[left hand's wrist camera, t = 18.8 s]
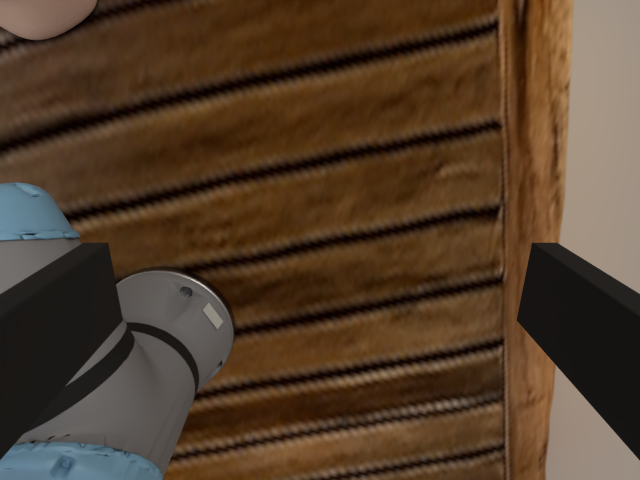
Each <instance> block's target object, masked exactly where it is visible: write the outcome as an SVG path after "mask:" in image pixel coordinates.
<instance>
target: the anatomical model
mask: <svg viewBox="0 0 640 480" xmlns="http://www.w3.org/2000/svg"><path fill="white" fill-rule="evenodd" d="M96 3H97V0H0V26H1V27H3V28H4V29H6V30H8V31H9V32H11V33H13V34H15V35H17V36H20V37H22V38H26V39H31V40H43V39H48V38H52V37H55V36H58V35H60V34H62V33H64V32H66V31H68V30H69V29H71V28H73V27H74V26H76V25H77V24H79V23H80V22H82V21H83V20H84V19H85V18H86V17H87V16H89V14H90V13H91V12H92V11H93V10H94V8H95V6H96Z"/></svg>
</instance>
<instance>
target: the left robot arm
mask: <svg viewBox="0 0 640 480" xmlns="http://www.w3.org/2000/svg"><path fill="white" fill-rule="evenodd" d="M79 238H80V234H79V233H78V232H77V231H74V230H73V228H72V227H71V225H70V224H69V222H68V221H67V219H66V218H65V216H64V215H63V213H62V212H61V210H60V209H59V207H58V205H57V204H56V202H55V201H54V199H53V198H52V197H51V196H50V194H48V193H47V192H46V191H45V190H43V189H42V188H40V187H37V186H35V185H31V184H27V183H4V184H0V480H163V477H164V474H165V471H166V469H167V466H168V464H169V461H170V459H171V456H172V454H173V451H174V449H175V446H176V443H177V441H178V438H179V436H180V433H181V431H182V428H183V426H184V423H185V421H186V418H187V416H188V413H189V410H190V408H191V405H192V403H193V400H194V398H195V395H196V393H197V392H198V391H199V390H200V389H202V388H203V387H204V386H205V385H206V384H207V383H208V382H209V381H210V379H211V378H213V377H214V376H215V375H216V374H217V373H218V372H219V371H220V369H221V368H222V367H223V365H224V364H225V362H226V360H227V359H228V357H229V355H230V352H231V349H232V346H233V343H234V339H235V321H234V317H233V314H232V311H231V309H230V306H229V305H228V303H227V301H226V300H225V298H224V297H223V295H222V294H221V293H220V292H219V291H218V290H217V289H216V288H215V287H214V286H213V285H211V284H210V283H209V282H208V281H206V280H205V279H203V278H201V277H199V276H198V275H196V274H193V273H191V272H188V271H185V270H182V269H178V268H172V267H150V268H145V269H142V270H138V271H136V272H134V273H131V274H130V275H128V276H126V277H125V278H123V279H122V280H121V281H120V282H119V283H118V284H116V282H115V276H114V271H113V266H112V261H111V256H110V251H109V246H108V243H82V244H81V242H80V240H79ZM517 321H518V322H519V323H520V325H521V326H522V327H523V328H524V329H525V330H526V331H527V332H528V334H529V335H530V336H531V337H532V338H533V339H534V340H535V342H536V343H537V344H538V345H539V346H540V347H541V348H542V350H543V351H544V352H545V353H546V354H547V355H548V356H549V358H550V359H551V360H552V361H553V362H554V363H555V364H556V365H557V367H558V368H559V369H560V370H561V371H562V372H563V373H564V375H565V376H566V377H567V378H568V379H569V380H570V381H571V383H572V384H573V385H574V386H575V387H576V388H577V389H578V390H579V392H580V393H581V394H582V395H583V396H584V397H585V399H586V400H587V401H588V402H589V403H590V404H591V405H592V406H593V408H594V409H595V410H596V411H597V412H598V413H599V414H600V416H601V417H602V418H603V419H604V420H605V421H606V422H607V424H608V425H609V426H610V427H611V428H612V429H613V430H614V432H615V433H616V434H617V435H618V436H619V437H620V438H621V439H622V441H623V442H624V443H625V444H626V445H627V446H628V447H629V449H630V450H631V451H632V452H633V453H634V454H635V455H636V456H637V458H638V459H639V460H640V294H639V293H637V292H636V291H634V290H632V289H631V288H629V287H627V286H626V285H624V284H623V283H621V282H619V281H618V280H616V279H614V278H613V277H611V276H610V275H608V274H606V273H605V272H603V271H602V270H600V269H598V268H597V267H595V266H593V265H592V264H590V263H589V262H587V261H585V260H584V259H582V258H581V257H579V256H577V255H576V254H574V253H572V252H571V251H569V250H568V249H566V248H564V247H563V246H561V245H560V244H558V243H532V246H531V251H530V256H529V261H528V266H527V271H526V276H525V282H524V287H523V292H522V297H521V302H520V307H519V312H518V317H517Z"/></svg>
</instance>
